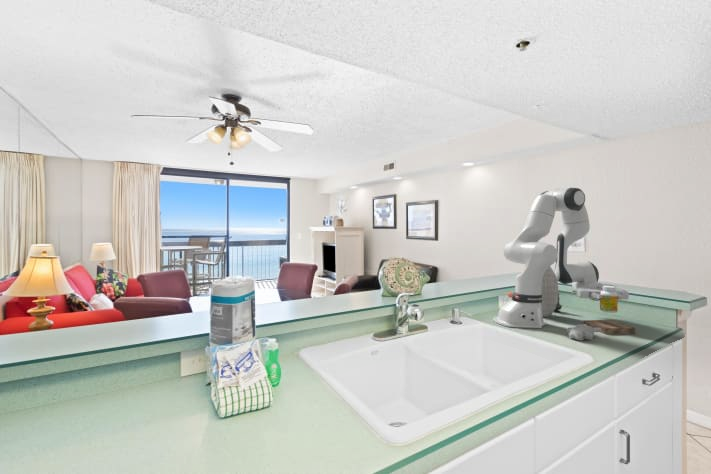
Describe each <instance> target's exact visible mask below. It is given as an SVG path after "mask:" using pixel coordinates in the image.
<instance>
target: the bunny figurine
mask: <svg viewBox="0 0 711 474" xmlns="http://www.w3.org/2000/svg"><path fill="white" fill-rule="evenodd" d="M566 330H567V334H568V338H570V339H573V340H576V341H580V342H583V341H584V340H591V341H592V340H594V334H595V333H601V332H602V329H601V328H592V327H591V326H588V325H586V324H583V323H578V324H577V325H576V326H575V327H568V328H567V329H566Z"/></svg>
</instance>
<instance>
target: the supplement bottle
mask: <svg viewBox="0 0 711 474" xmlns="http://www.w3.org/2000/svg"><path fill="white" fill-rule="evenodd" d="M614 286H615V285H614ZM614 286H603V291H602V292H601V293H600V294H601V295H603V298H602V299H600V300H599V310H600V311H601V312H603V313H609V314H610V313H611V314H616V313H618V311H619V310H618V307H619V306H618V305H619V303H618V301H619V299H618V294H617V293H616V292H615V291H616V288H617V286H616V287H614Z"/></svg>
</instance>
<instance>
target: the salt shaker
mask: <svg viewBox="0 0 711 474" xmlns="http://www.w3.org/2000/svg"><path fill="white" fill-rule="evenodd" d="M560 299H561V298H560V292H559V291H558V302H557V305H556V308H555V310H554V312H553V313H555V314H561V313H562V311H561V309H562V308H563V305H562V304H560Z"/></svg>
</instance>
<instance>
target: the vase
mask: <svg viewBox="0 0 711 474" xmlns="http://www.w3.org/2000/svg"><path fill="white" fill-rule="evenodd" d="M558 292H559V281H557V278H556V275H555V270H553V268H552V267H551V266H549V267H548V268H547V269H546V271H545V273H544V275H543V278H542V287H541V294H542V305H541V307H542V315H543V318H551V316H552V315H553V313H554V310H555V308H556V305H557V302H558Z"/></svg>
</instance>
